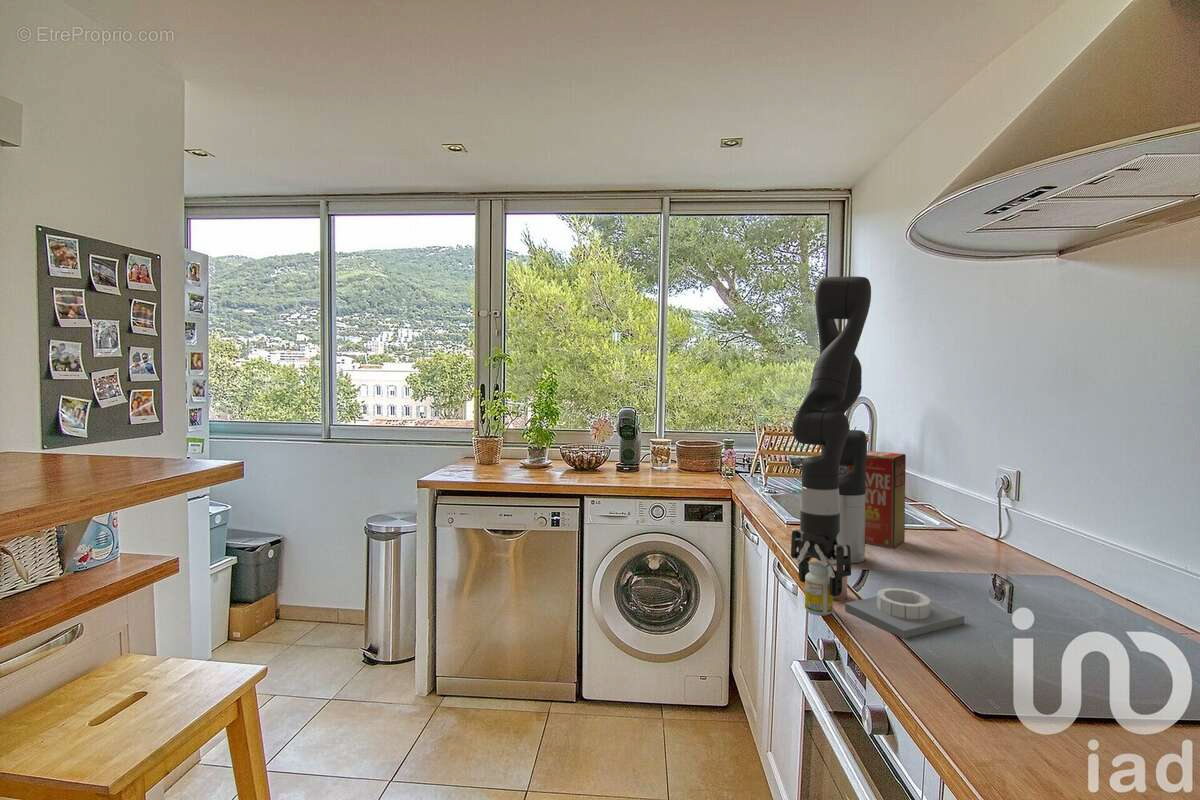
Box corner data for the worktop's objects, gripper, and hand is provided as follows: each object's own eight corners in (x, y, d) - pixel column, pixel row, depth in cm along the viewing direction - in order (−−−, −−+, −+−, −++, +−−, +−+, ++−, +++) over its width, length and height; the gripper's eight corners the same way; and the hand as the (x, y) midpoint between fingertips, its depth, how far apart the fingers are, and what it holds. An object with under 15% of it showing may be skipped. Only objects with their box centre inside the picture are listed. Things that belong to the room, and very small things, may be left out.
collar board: (845, 610, 121) (845, 591, 121) (902, 597, 127) (902, 579, 127) (903, 638, 108) (904, 617, 108) (964, 623, 114) (964, 602, 114)
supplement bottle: (811, 617, 118) (812, 569, 118) (800, 606, 123) (800, 560, 123) (837, 615, 119) (838, 568, 118) (825, 605, 124) (825, 559, 123)
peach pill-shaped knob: (817, 593, 130) (817, 566, 130) (834, 589, 132) (835, 563, 132) (834, 601, 126) (834, 573, 126) (852, 597, 128) (852, 570, 127)
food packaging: (844, 539, 170) (845, 452, 168) (857, 532, 176) (858, 449, 175) (894, 549, 160) (895, 457, 159) (906, 541, 167) (907, 453, 166)
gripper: (861, 514, 115) (861, 597, 115) (809, 500, 128) (809, 574, 129) (831, 518, 112) (831, 603, 113) (781, 503, 125) (781, 579, 126)
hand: (819, 588), depth 121 cm, fingers open, 8 cm apart
